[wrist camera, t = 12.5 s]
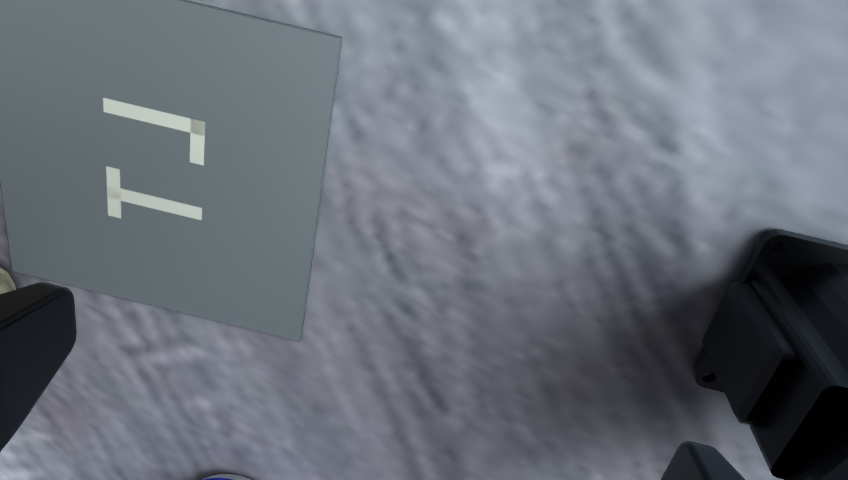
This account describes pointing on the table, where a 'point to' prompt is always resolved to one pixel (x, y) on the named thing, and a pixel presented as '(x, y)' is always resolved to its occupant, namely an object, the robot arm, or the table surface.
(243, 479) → the beverage can
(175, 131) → the mat
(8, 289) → the pastry
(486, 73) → the table surface
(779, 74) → the table surface
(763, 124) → the table surface
